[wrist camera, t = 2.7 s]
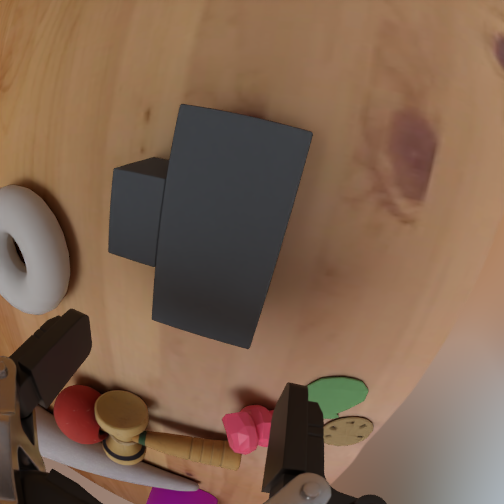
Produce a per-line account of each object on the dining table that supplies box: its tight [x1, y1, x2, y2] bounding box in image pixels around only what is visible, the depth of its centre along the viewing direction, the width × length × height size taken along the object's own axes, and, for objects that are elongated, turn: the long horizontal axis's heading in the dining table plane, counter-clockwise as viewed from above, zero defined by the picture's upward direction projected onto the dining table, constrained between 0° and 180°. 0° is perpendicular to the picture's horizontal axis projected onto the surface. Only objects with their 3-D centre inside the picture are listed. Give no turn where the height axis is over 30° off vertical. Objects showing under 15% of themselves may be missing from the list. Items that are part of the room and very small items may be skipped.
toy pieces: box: [222, 377, 373, 455], centre depth 19 cm, size 12×11×4 cm
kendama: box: [54, 385, 242, 470], centre depth 22 cm, size 8×6×18 cm
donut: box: [0, 185, 70, 315], centre depth 17 cm, size 10×3×10 cm
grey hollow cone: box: [35, 404, 199, 491], centre depth 27 cm, size 8×9×26 cm
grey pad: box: [108, 104, 313, 349], centre depth 14 cm, size 10×8×4 cm
